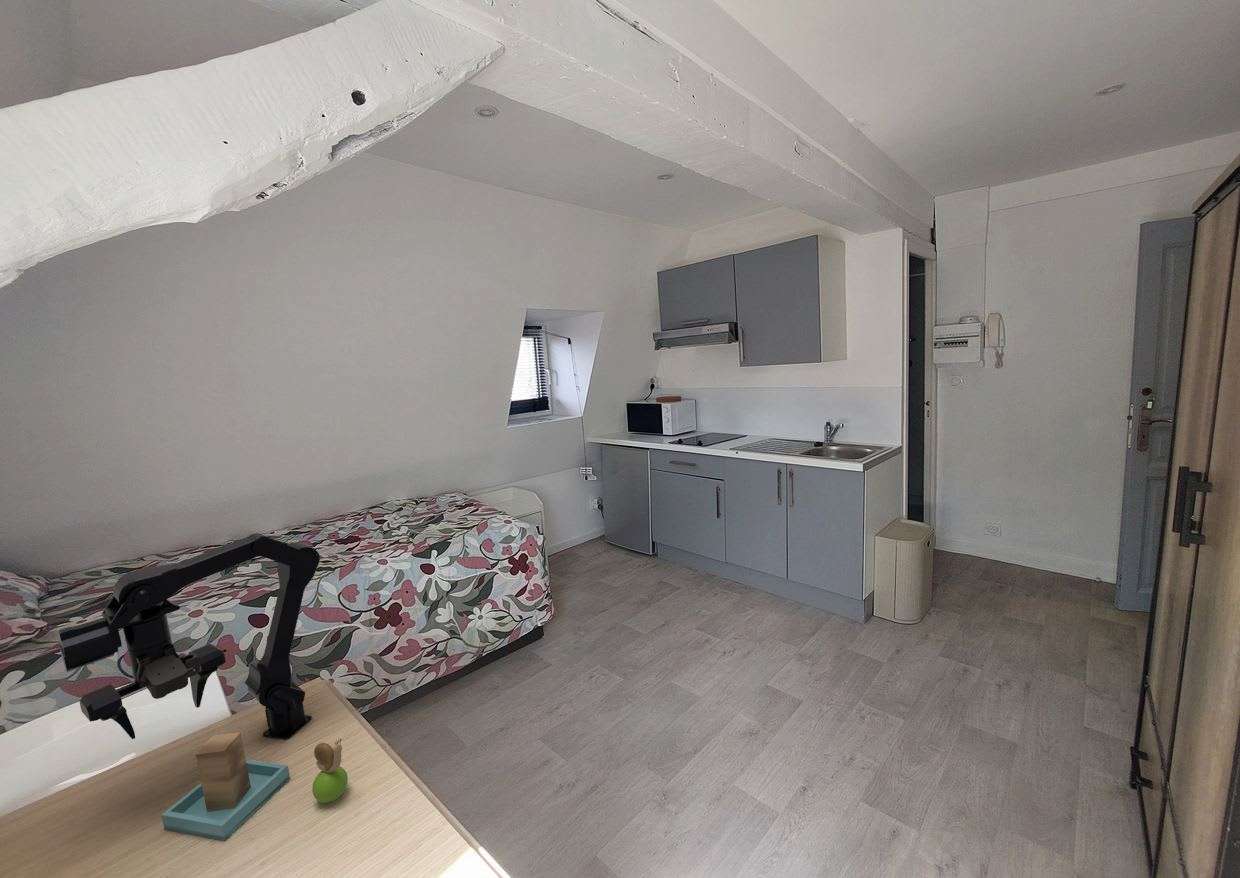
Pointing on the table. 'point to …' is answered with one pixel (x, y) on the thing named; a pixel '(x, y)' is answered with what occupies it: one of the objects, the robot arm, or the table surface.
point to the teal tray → (223, 823)
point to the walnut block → (223, 771)
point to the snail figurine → (329, 773)
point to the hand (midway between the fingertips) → (166, 721)
